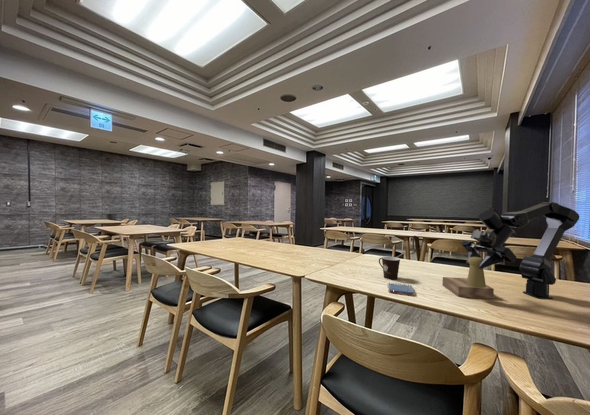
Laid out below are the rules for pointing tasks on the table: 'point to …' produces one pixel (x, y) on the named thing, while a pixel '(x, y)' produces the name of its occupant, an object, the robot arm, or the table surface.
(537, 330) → the table surface
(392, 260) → the coffee mug
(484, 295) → the walnut block
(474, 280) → the cork
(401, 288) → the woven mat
